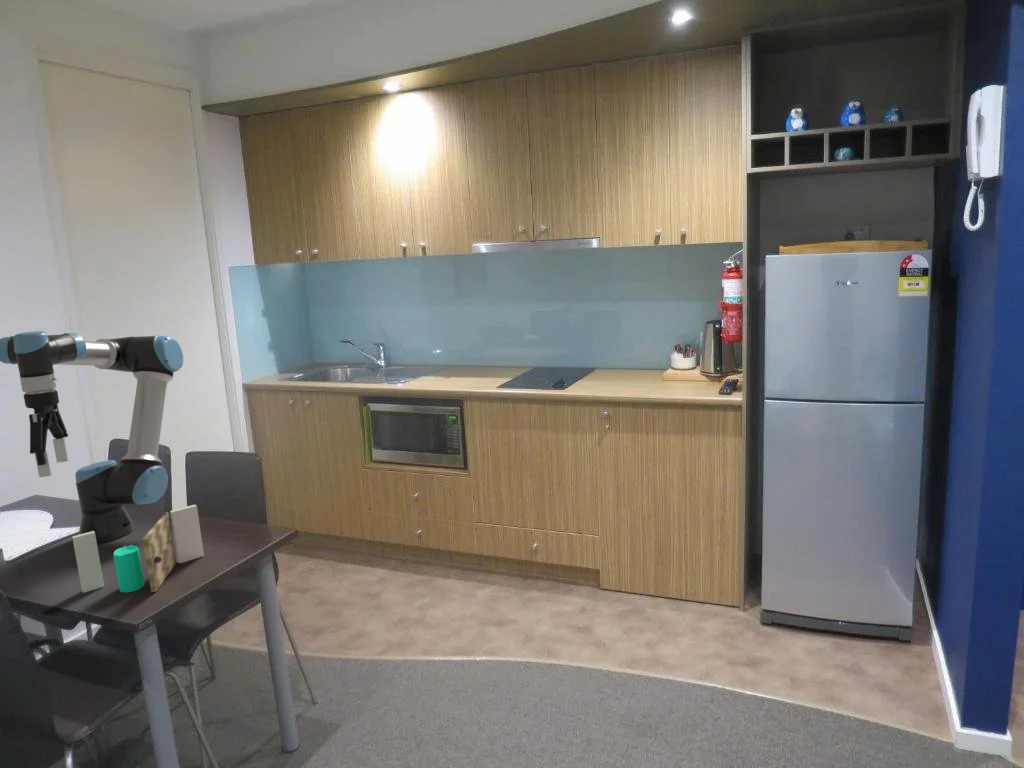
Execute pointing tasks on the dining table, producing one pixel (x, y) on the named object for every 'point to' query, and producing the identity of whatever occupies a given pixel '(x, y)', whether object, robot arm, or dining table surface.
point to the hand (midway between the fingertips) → (54, 468)
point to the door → (159, 552)
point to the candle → (128, 568)
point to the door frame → (185, 542)
